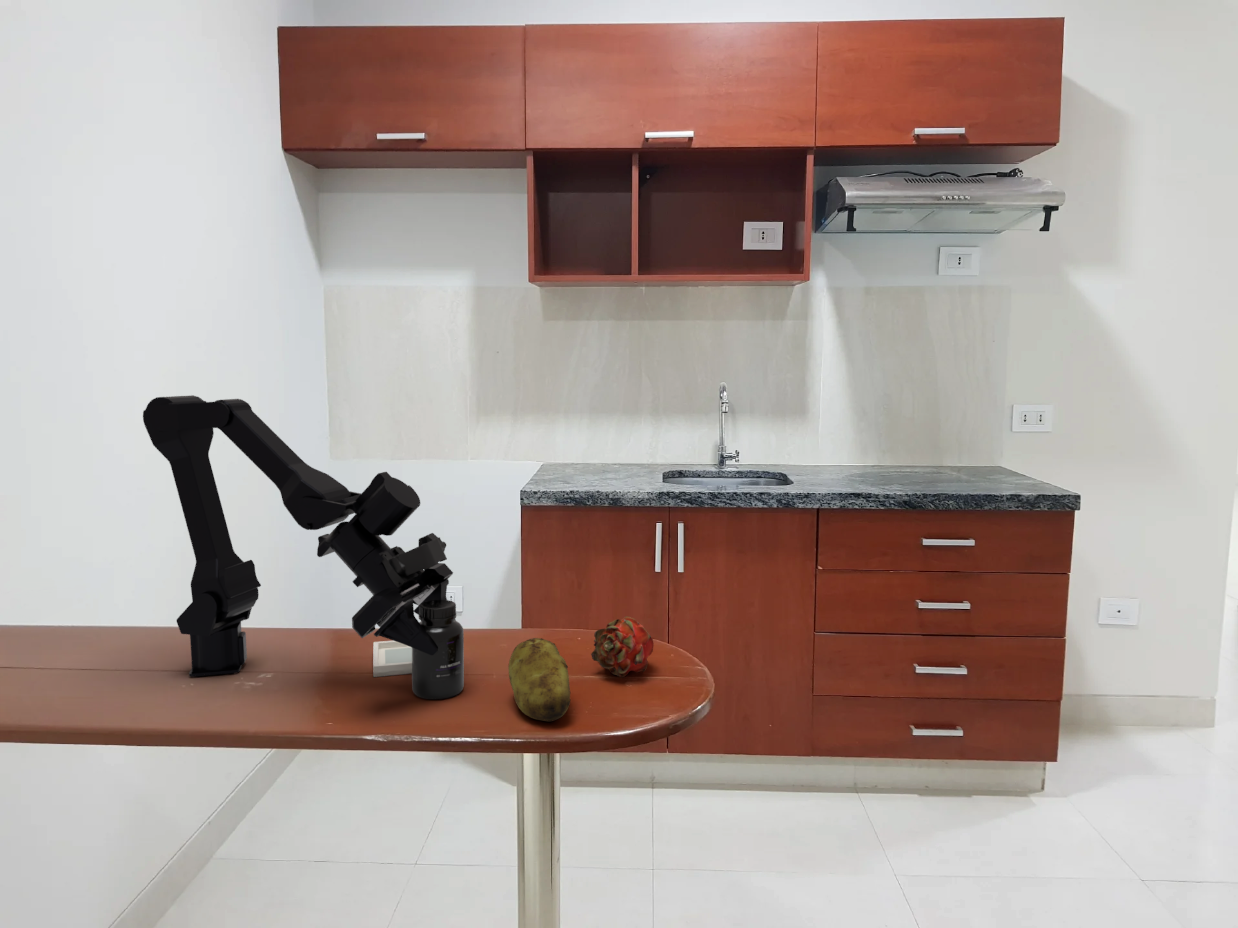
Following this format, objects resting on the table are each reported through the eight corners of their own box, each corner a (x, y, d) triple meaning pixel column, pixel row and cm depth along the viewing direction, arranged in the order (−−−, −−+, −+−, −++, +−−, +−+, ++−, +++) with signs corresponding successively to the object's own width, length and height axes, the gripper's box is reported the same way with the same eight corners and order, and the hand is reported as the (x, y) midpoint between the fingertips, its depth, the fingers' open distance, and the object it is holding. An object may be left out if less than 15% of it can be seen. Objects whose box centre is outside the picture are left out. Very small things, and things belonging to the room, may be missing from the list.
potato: (500, 729, 102) (500, 665, 101) (511, 688, 115) (511, 631, 114) (570, 729, 102) (569, 665, 101) (573, 688, 115) (573, 631, 114)
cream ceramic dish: (373, 676, 119) (373, 666, 119) (373, 651, 129) (373, 642, 129) (452, 669, 122) (452, 659, 122) (446, 645, 132) (446, 636, 132)
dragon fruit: (610, 699, 115) (622, 679, 127) (661, 664, 115) (669, 648, 126) (575, 646, 116) (590, 631, 128) (626, 612, 115) (636, 600, 127)
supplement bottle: (452, 702, 110) (450, 613, 108) (403, 698, 111) (401, 609, 110) (472, 683, 117) (470, 598, 115) (425, 679, 118) (423, 595, 116)
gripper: (370, 531, 103) (456, 626, 102) (438, 506, 121) (512, 587, 120) (315, 590, 106) (398, 683, 105) (390, 557, 124) (461, 636, 123)
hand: (447, 643), depth 113 cm, fingers closed on supplement bottle, 7 cm apart
